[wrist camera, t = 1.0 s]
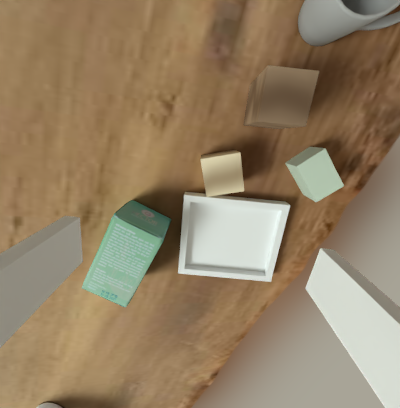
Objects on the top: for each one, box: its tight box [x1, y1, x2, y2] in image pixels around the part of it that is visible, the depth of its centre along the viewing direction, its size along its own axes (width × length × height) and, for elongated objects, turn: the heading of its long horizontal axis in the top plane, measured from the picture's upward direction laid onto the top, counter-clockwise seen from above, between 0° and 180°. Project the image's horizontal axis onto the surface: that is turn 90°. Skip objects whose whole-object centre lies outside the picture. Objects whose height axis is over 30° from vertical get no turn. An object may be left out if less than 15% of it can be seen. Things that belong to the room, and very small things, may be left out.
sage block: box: [286, 147, 344, 202], centre depth 29 cm, size 6×4×4 cm, turn 35°
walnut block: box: [244, 65, 319, 129], centre depth 24 cm, size 5×5×8 cm
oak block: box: [201, 150, 244, 197], centre depth 28 cm, size 5×5×5 cm
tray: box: [178, 192, 290, 282], centre depth 33 cm, size 14×16×2 cm
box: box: [82, 200, 171, 307], centre depth 31 cm, size 7×14×8 cm, turn 152°
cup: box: [298, 0, 400, 46], centre depth 20 cm, size 8×10×8 cm
